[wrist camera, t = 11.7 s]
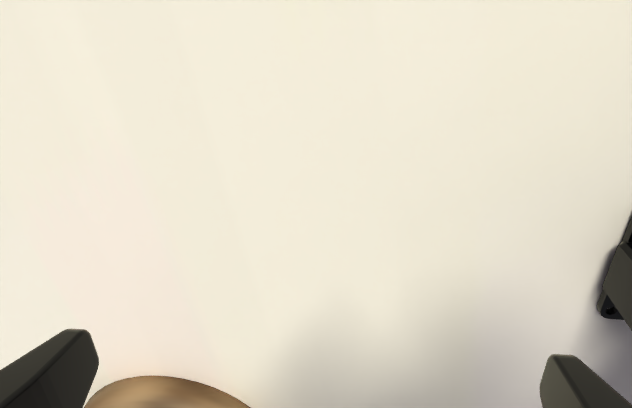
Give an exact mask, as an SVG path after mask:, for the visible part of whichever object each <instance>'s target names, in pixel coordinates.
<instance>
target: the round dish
mask: <svg viewBox="0 0 632 408" xmlns="http://www.w3.org/2000/svg"><path fill="white" fill-rule="evenodd" d="M84 408H250V407H248V406H247V405H245V404H244V403H242V402H241V401H239V400H238V399H236V398H234V397H232V396H230V395H228V394H226V393H224V392H222V391H220V390H217V389H215V388H213V387H210V386H207V385H204V384H201V383H198V382H194V381H190V380H185V379H180V378H174V377H165V376H139V377H133V378H127V379H123V380H120V381H116V382H114V383H111V384H109V385H107V386H105V387H103V388H102V389H100V390H99V391H97V392H96V393H95V394H94V395H93V396H92V397H91V398H90V400H89V401H88V402H87V404H86V405H85V407H84Z"/></svg>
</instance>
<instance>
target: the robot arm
mask: <svg viewBox="0 0 632 408" xmlns="http://www.w3.org/2000/svg"><path fill="white" fill-rule="evenodd" d="M602 287H603V291H602V294H601V296H600V299H599V301H598V304H597V309H598V311H599V313H600V314H601V316H603V317H604V318H608V319H620V320H625V321H626V323H627V324H628V326H629V327H630V329H631V330H632V217H631V220H630V222H629V225H628V227H627V230H626V233H625V235H624V238H623V240H622V243H621V244H620V245H619V246H618V247H617V250H616V252H615V255H614V257H613V260H612V263H611V265H610V268H609V270H608V273H607V275H606V278H605V281H604V283H603V286H602ZM609 307H612V308H610V309H607V308H609ZM98 365H99V358H98V355H97V352H96V349H95V346H94V343H93V341H92V338H91V335H90V333H89V332H88V331H87V330H84V329H66V330H64V331H62V332H60V333H59V334H57V335H56V336H54V337H52V338H51V339H49V340H48V341H46V342H44V343H43V344H41V345H40V346H38V347H37V348H35V349H33V350H32V351H30V352H29V353H27V354H25V355H24V356H22V357H21V358H19V359H17V360H16V361H14V362H13V363H11V364H9V365H8V366H6V367H5V368H3V369H1V370H0V408H83V405H84V403H85V400H86V398H87V395H88V393H89V390H90V388H91V385H92V383H93V380H94V378H95V375H96V373H97V370H98ZM540 397H541V402H542V406H543V408H632V405H631V404H630V403H629V402H628V401H627V400H626V399H624V398H623V397H622V396H621V395H620V394H619V393H618V392H616V391H615V390H614V389H613V388H612V387H611V386H609V385H608V384H607V383H606V382H605V381H604V380H603V379H601V378H600V377H599V376H598V375H597V374H596V373H594V372H593V371H592V370H591V369H590V368H589V367H588V366H586V365H585V364H584V363H583V362H582V361H581V360H579V359H578V358H577V357H575V356H573V355H560V354H553V355H551V356H550V357H549V358H548V360H547V363H546V366H545V370H544V373H543V376H542V380H541V383H540Z"/></svg>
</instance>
